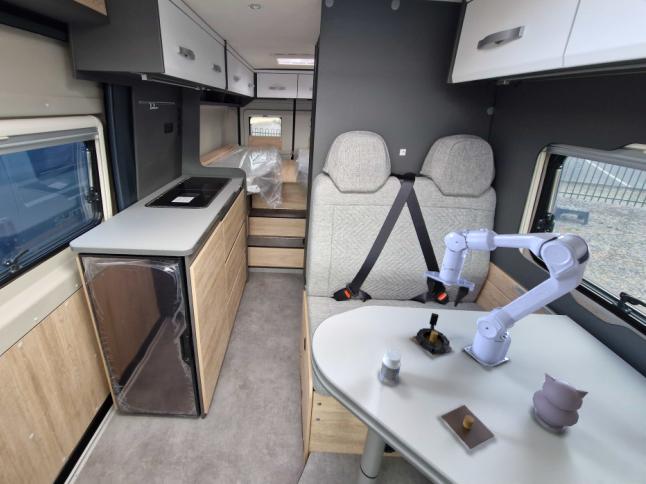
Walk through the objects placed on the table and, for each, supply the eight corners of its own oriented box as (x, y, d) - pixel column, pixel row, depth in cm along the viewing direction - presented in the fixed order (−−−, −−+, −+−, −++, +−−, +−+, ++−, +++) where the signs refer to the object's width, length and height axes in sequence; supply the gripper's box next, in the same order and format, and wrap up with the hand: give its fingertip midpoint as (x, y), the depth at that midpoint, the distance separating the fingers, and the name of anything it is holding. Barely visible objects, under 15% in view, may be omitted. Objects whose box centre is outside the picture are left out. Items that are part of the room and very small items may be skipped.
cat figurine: (525, 420, 75) (542, 385, 70) (528, 398, 80) (543, 364, 76) (571, 445, 70) (592, 408, 65) (570, 420, 75) (590, 384, 71)
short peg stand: (463, 408, 77) (466, 398, 76) (493, 438, 70) (497, 428, 69) (439, 419, 74) (442, 409, 73) (468, 452, 67) (473, 442, 66)
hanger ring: (449, 358, 90) (454, 343, 88) (415, 347, 94) (419, 333, 92) (447, 331, 101) (451, 317, 99) (416, 323, 104) (419, 309, 102)
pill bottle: (398, 387, 82) (403, 363, 79) (380, 383, 83) (384, 360, 80) (396, 372, 86) (401, 349, 83) (378, 369, 87) (383, 346, 84)
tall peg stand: (430, 333, 101) (434, 321, 100) (451, 351, 95) (454, 338, 93) (412, 339, 98) (415, 327, 97) (431, 358, 92) (435, 345, 90)
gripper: (426, 265, 97) (418, 301, 102) (478, 278, 91) (467, 315, 96) (428, 256, 103) (420, 290, 108) (477, 267, 97) (466, 303, 102)
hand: (442, 301), depth 102 cm, fingers open, 7 cm apart
